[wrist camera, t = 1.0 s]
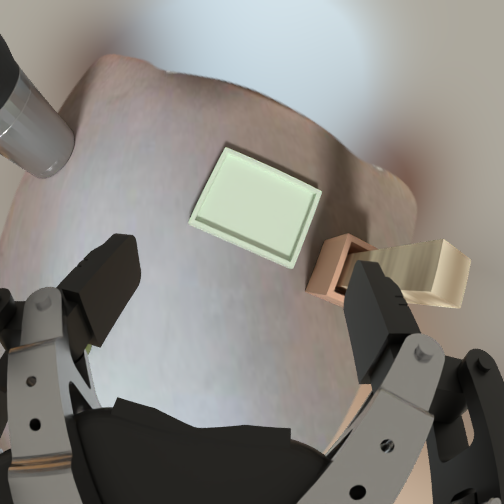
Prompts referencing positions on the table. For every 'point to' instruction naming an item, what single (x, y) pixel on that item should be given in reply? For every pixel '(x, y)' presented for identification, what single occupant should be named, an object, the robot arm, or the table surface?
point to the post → (418, 271)
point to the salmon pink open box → (334, 266)
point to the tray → (256, 208)
